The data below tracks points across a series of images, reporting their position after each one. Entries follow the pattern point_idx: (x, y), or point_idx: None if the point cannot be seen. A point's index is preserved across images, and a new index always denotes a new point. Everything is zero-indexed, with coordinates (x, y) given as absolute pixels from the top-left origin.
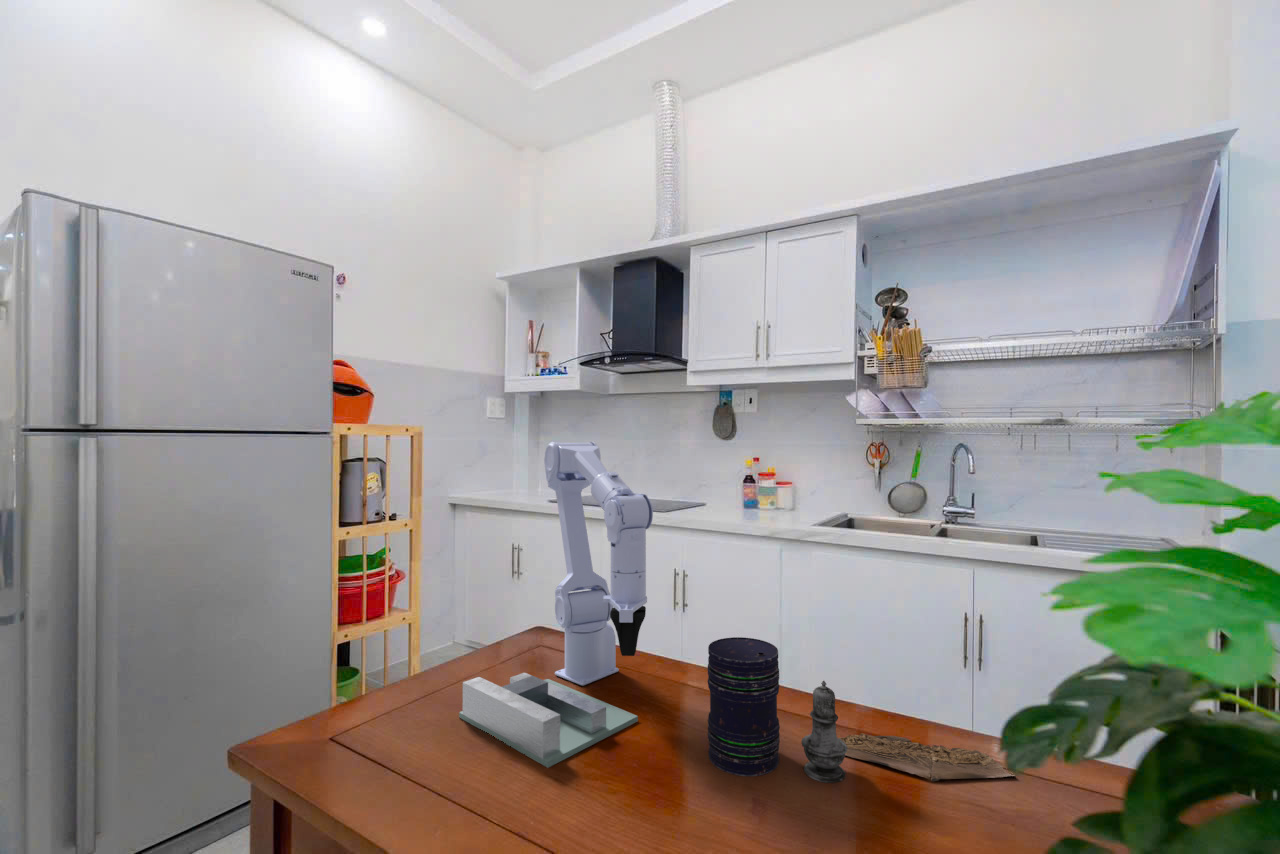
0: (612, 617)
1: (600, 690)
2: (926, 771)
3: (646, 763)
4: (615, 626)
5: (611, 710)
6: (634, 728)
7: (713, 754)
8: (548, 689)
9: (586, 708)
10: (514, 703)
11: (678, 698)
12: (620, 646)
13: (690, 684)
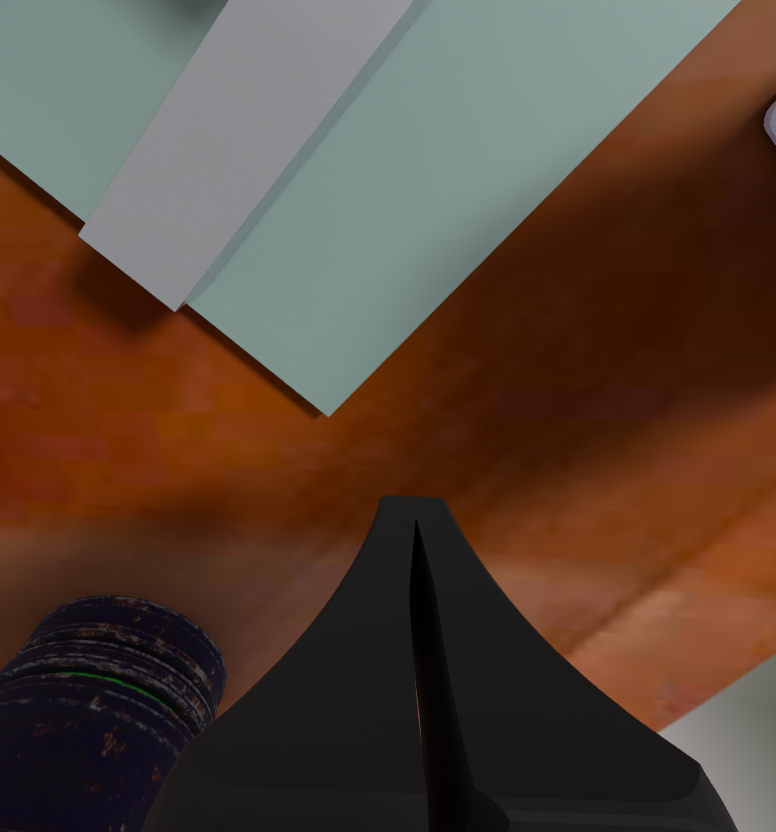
0: (153, 804)
1: (680, 231)
2: None
3: (22, 429)
4: (261, 678)
5: (381, 305)
6: (270, 393)
7: (64, 621)
8: None
9: (134, 200)
10: None
11: (526, 552)
12: (368, 535)
13: (646, 597)
